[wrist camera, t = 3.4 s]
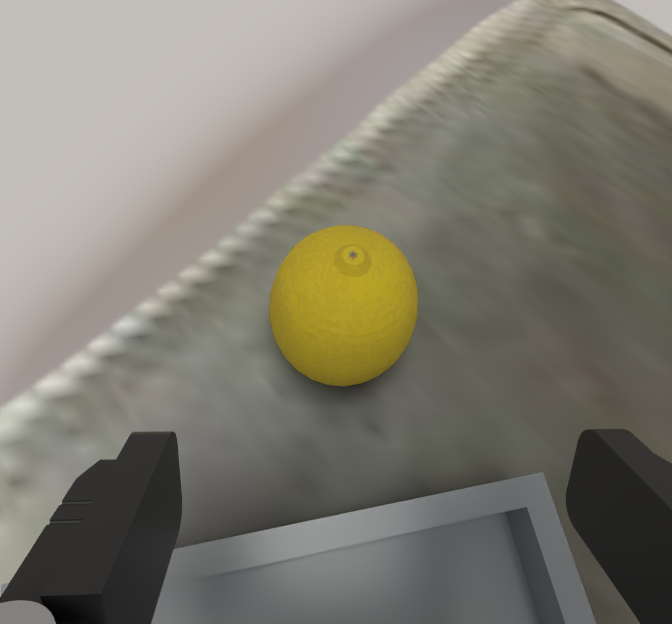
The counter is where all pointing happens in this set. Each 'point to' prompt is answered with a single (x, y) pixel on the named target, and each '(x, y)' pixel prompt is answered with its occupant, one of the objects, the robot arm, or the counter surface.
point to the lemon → (343, 305)
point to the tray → (390, 566)
